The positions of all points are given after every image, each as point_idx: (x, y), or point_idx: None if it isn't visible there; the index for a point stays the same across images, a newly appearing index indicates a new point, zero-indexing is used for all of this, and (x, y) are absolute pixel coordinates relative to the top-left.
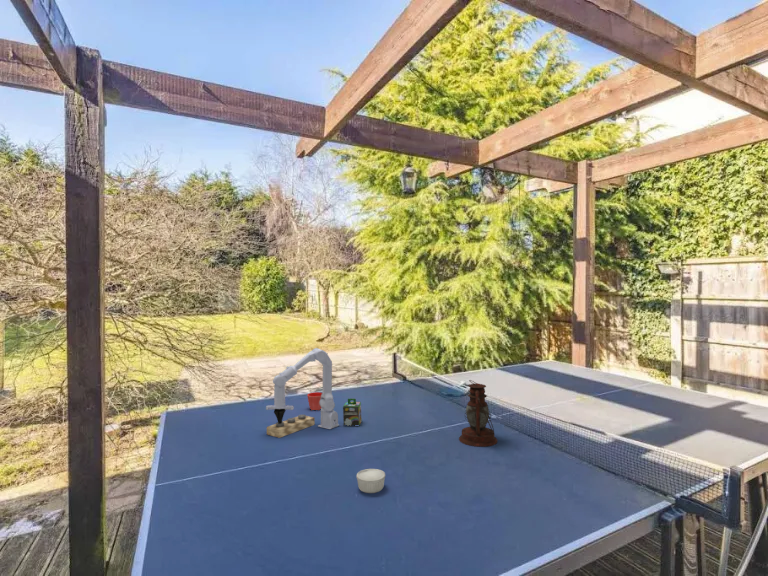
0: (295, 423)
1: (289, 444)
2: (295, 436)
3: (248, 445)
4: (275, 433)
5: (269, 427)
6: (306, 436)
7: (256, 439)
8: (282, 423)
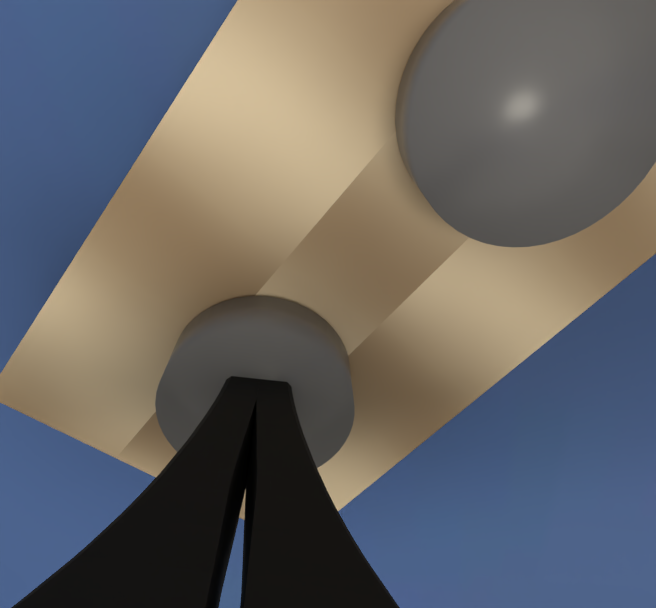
0: (600, 243)
1: (435, 595)
2: (507, 423)
3: (20, 594)
4: None
5: (67, 428)
6: (646, 434)
7: (9, 471)
8: (320, 448)
